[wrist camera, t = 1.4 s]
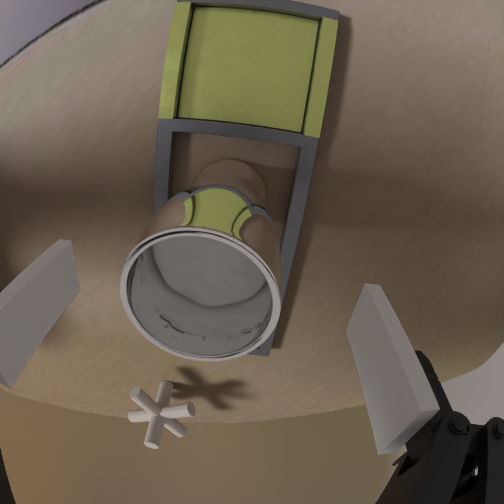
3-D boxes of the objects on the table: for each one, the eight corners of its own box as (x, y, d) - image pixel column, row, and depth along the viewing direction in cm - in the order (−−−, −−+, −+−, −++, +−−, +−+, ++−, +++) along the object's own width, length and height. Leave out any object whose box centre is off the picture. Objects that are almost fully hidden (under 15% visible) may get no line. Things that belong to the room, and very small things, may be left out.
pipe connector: (175, 353, 34) (157, 422, 25) (216, 398, 38) (208, 459, 29) (119, 367, 36) (95, 425, 27) (160, 407, 40) (147, 461, 31)
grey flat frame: (160, 333, 32) (157, 341, 31) (182, -3, 16) (178, -8, 15) (268, 348, 33) (268, 357, 31) (335, 15, 17) (339, 10, 16)
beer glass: (198, 237, 26) (148, 366, 13) (181, 162, 23) (89, 238, 10) (276, 226, 26) (293, 358, 13) (264, 147, 23) (275, 207, 9)
